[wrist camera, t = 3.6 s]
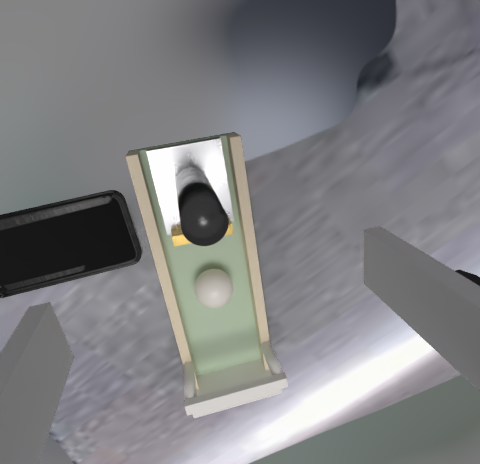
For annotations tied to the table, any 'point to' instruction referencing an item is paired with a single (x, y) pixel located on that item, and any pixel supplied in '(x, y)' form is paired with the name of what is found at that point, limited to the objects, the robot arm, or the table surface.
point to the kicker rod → (193, 191)
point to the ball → (213, 288)
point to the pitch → (213, 319)
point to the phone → (65, 242)
